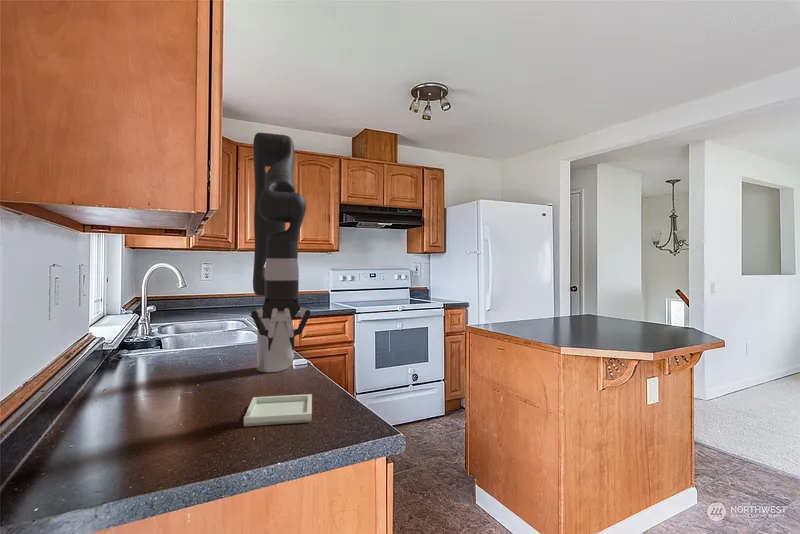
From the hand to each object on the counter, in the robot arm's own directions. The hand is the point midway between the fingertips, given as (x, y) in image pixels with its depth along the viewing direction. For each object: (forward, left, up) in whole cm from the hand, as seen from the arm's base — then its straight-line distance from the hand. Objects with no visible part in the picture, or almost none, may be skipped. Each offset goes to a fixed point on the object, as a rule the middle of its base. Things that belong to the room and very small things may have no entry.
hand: (281, 352), depth 95 cm
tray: (0, 0, -14) cm, 14 cm away
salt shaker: (0, 0, -3) cm, 3 cm away
